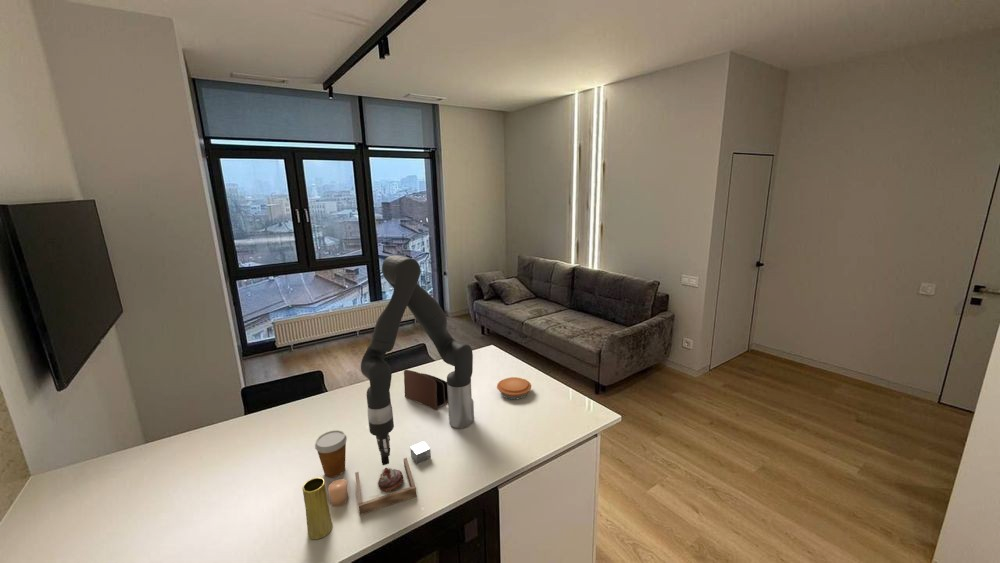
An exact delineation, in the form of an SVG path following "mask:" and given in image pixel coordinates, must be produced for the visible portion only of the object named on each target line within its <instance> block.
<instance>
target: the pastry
mask: <svg viewBox="0 0 1000 563" xmlns="http://www.w3.org/2000/svg"><path fill="white" fill-rule="evenodd" d="M403 474H404V473H402V471H401V470H399V469H396V468H387V467H385V468H384V470H383V472H381V473H380V475H379V476H380V477H379V479H378V482H377V486H378V489H379V490H381V491H382V492H395V491H396V490H398V489H399V488H400V486H402V483H403V482H404V475H403Z"/></svg>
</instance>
